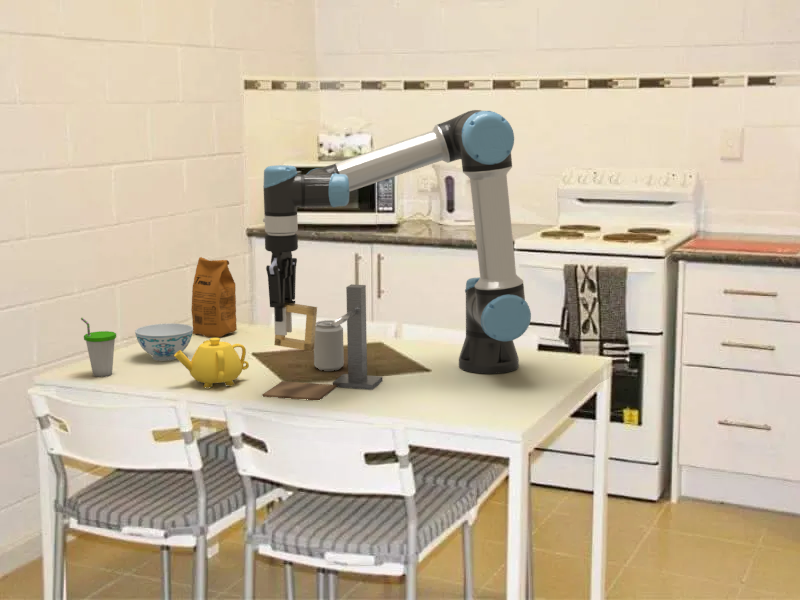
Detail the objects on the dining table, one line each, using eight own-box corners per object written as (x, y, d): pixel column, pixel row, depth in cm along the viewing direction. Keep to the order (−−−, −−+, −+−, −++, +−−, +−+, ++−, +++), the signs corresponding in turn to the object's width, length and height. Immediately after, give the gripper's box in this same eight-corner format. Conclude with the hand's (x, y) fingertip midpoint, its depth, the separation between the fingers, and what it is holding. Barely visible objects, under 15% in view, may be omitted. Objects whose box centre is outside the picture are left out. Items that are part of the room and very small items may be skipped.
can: (339, 372, 289) (338, 325, 287) (310, 371, 291) (309, 324, 289) (347, 365, 297) (346, 319, 294) (318, 364, 298) (317, 318, 296)
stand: (382, 381, 281) (381, 283, 276) (356, 403, 262) (354, 299, 257) (343, 378, 283) (341, 282, 279) (315, 400, 265) (312, 297, 260)
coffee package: (211, 327, 342) (208, 254, 338) (242, 332, 335) (239, 257, 331) (186, 334, 335) (183, 258, 330) (217, 339, 327) (214, 262, 323)
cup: (124, 371, 292) (120, 313, 289) (108, 379, 285) (104, 320, 282) (96, 370, 294) (92, 312, 291) (80, 377, 287) (76, 318, 284)
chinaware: (126, 363, 301) (124, 334, 300) (152, 350, 315) (150, 322, 314) (179, 366, 298) (178, 336, 296) (203, 352, 312) (202, 324, 310)
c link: (314, 348, 270) (317, 307, 268) (310, 351, 268) (313, 309, 266) (278, 342, 272) (281, 301, 270) (274, 345, 270) (277, 303, 268)
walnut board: (336, 387, 276) (336, 384, 275) (319, 400, 264) (319, 398, 264) (281, 383, 279) (281, 381, 279) (262, 396, 268) (262, 394, 268)
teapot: (207, 373, 290) (205, 329, 288) (254, 378, 285) (252, 334, 283) (173, 387, 277) (171, 342, 275) (222, 393, 272) (220, 347, 270)
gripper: (278, 228, 274) (280, 325, 278) (252, 237, 259) (255, 339, 264) (308, 229, 272) (310, 327, 276) (283, 238, 257) (285, 341, 262)
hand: (283, 333), depth 270 cm, fingers closed on c link, 2 cm apart
